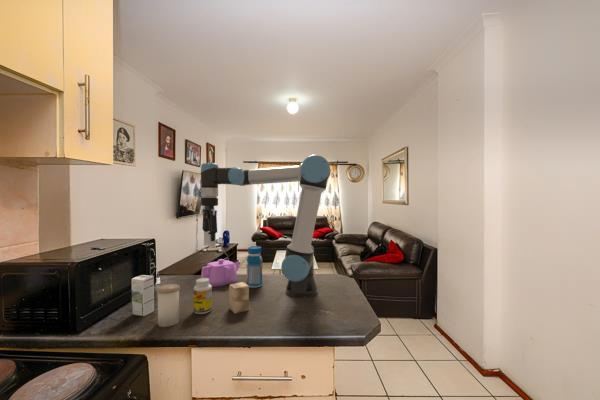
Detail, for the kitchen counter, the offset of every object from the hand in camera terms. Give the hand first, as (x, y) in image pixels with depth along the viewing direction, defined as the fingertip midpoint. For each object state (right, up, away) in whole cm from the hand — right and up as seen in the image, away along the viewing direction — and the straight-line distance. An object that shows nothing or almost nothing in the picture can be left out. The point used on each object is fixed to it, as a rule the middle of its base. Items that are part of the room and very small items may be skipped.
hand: (209, 246), depth 127 cm
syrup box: (-21, -24, -18) cm, 36 cm away
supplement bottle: (+2, -24, -16) cm, 28 cm away
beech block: (+17, -24, -13) cm, 32 cm away
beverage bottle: (+18, -23, +17) cm, 34 cm away
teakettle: (-1, -23, +23) cm, 33 cm away
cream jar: (-7, -24, -25) cm, 35 cm away
